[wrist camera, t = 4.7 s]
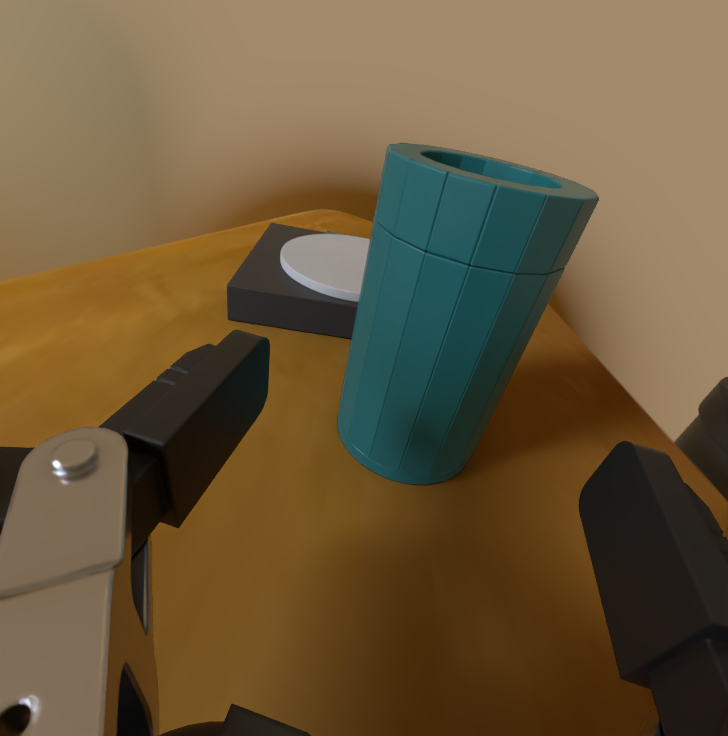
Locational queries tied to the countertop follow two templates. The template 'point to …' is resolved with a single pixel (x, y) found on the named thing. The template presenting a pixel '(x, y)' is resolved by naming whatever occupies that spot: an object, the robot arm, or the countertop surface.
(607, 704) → the countertop surface
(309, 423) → the countertop surface
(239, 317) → the scale
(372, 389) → the jar
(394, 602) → the countertop surface
